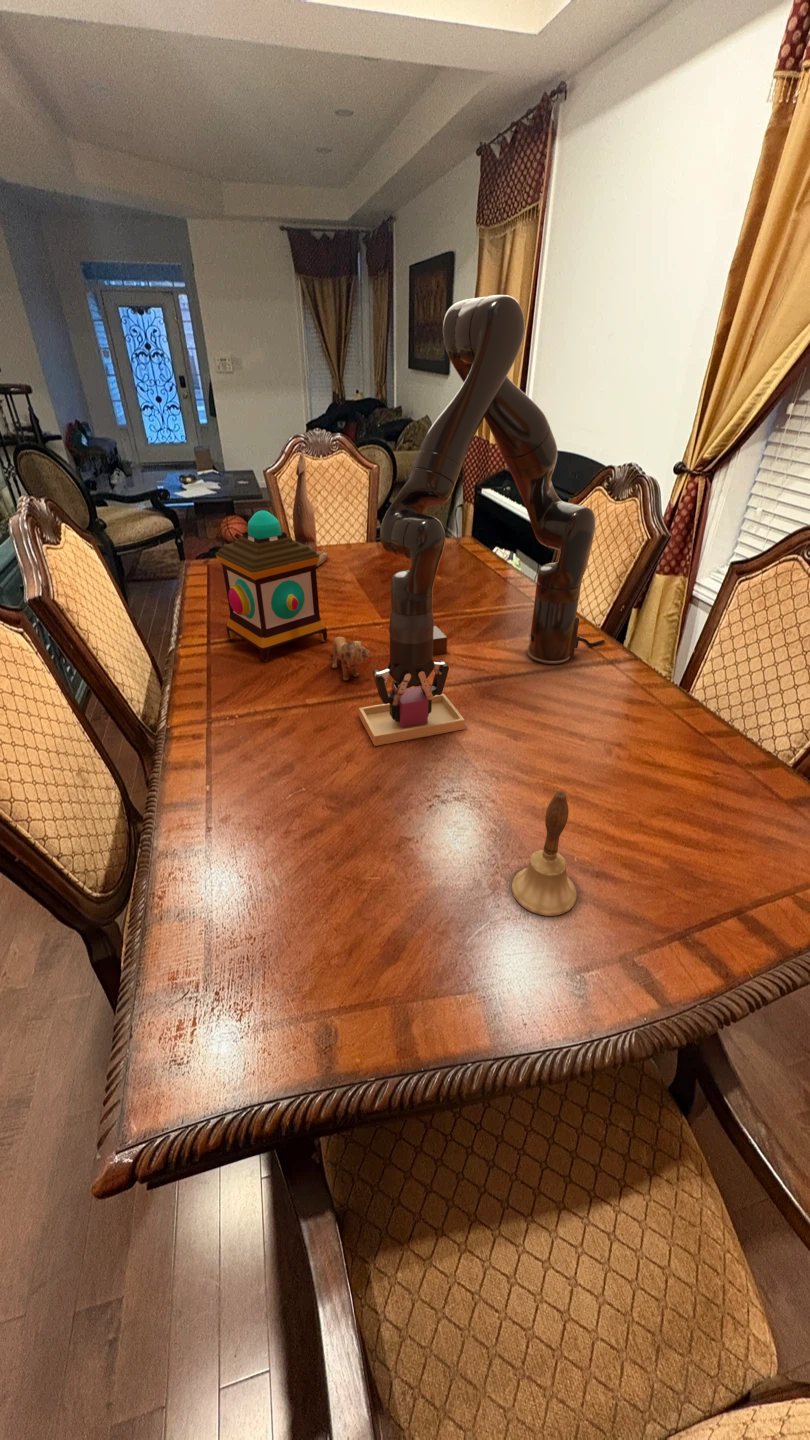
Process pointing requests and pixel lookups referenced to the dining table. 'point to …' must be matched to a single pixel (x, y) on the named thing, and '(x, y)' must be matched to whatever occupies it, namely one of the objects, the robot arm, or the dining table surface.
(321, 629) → the decorative lantern
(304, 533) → the bird sculpture
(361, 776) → the dining table surface
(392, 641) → the robot arm
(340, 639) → the lion figurine
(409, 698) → the mulberry block
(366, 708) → the tray
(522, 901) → the hand bell
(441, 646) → the walnut block
